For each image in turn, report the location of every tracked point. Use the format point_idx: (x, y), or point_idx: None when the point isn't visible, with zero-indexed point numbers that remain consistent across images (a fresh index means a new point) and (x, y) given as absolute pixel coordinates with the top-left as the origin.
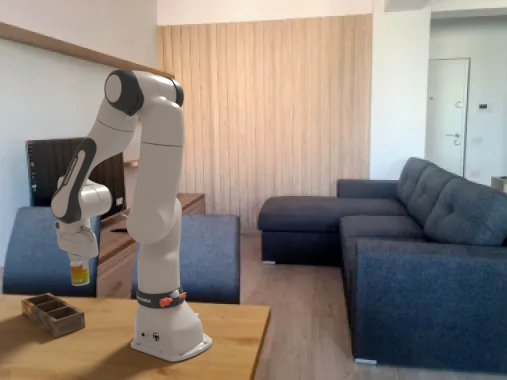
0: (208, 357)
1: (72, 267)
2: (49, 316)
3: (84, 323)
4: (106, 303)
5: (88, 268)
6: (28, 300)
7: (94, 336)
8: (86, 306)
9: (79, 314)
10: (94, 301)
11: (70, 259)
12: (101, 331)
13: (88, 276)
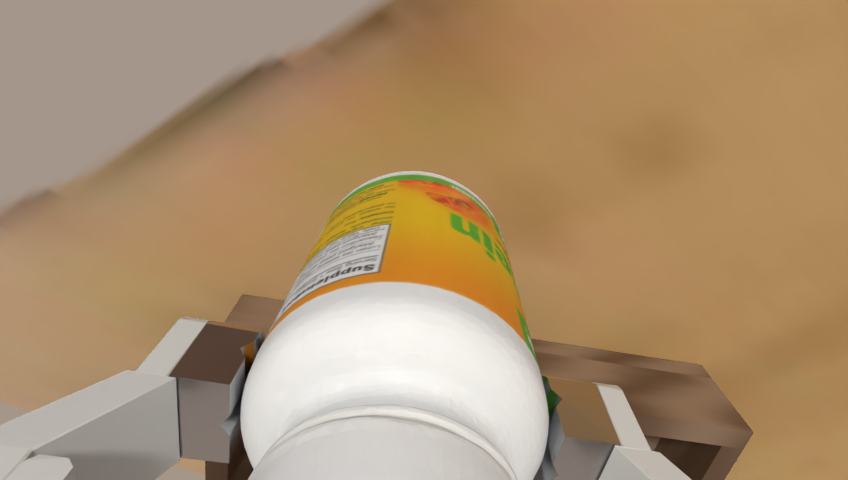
0: None
1: None
2: None
3: (712, 383)
4: (558, 51)
5: (492, 269)
6: (229, 466)
7: (822, 401)
8: (463, 175)
9: (736, 453)
10: (434, 76)
11: (151, 461)
12: (826, 354)
13: (503, 245)
